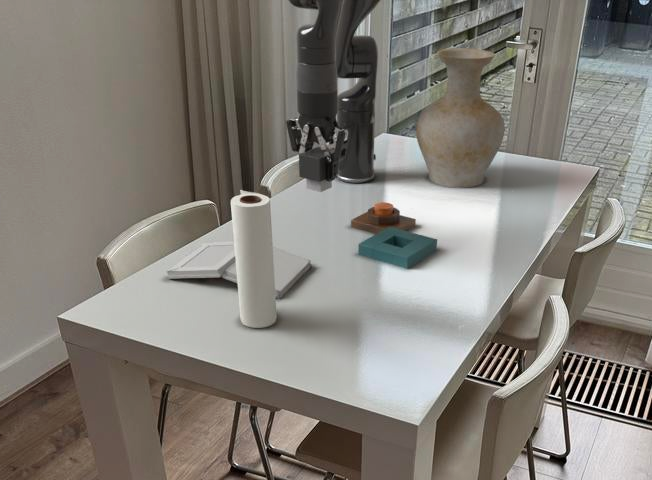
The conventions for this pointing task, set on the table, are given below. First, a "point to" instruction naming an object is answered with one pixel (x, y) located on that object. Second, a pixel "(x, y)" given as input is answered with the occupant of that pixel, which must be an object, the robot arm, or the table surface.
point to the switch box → (382, 221)
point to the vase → (460, 123)
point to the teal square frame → (397, 247)
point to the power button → (383, 208)
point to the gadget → (222, 261)
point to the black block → (314, 169)
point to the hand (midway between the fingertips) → (318, 177)
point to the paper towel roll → (254, 258)
